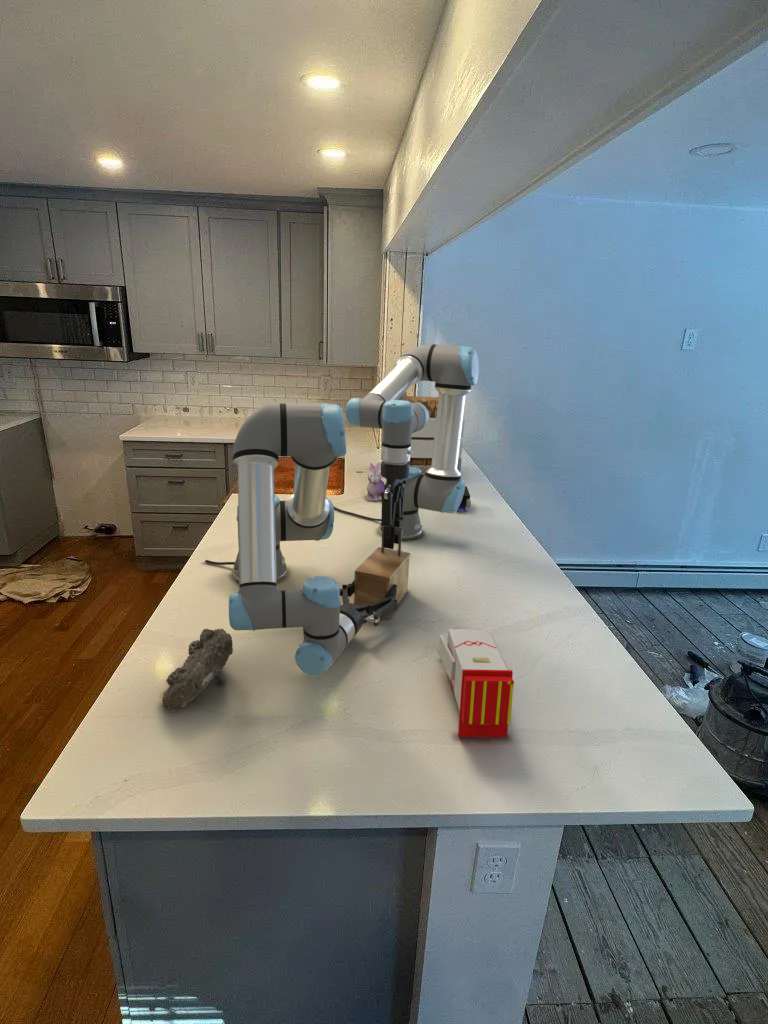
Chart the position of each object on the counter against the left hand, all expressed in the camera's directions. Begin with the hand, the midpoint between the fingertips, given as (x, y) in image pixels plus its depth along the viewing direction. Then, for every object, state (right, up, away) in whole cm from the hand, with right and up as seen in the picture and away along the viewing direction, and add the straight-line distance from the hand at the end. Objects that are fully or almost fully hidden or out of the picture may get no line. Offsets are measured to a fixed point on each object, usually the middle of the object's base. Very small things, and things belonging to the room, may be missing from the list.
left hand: (376, 585), depth 148 cm
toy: (+20, -19, -29) cm, 40 cm away
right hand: (+4, +10, +6) cm, 13 cm away
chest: (+1, -5, +6) cm, 8 cm away
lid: (+2, +5, +3) cm, 6 cm away
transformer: (+19, +38, +127) cm, 134 cm away
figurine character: (+33, +21, +81) cm, 90 cm away
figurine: (-1, +25, +88) cm, 91 cm away
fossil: (-36, -16, -30) cm, 49 cm away
